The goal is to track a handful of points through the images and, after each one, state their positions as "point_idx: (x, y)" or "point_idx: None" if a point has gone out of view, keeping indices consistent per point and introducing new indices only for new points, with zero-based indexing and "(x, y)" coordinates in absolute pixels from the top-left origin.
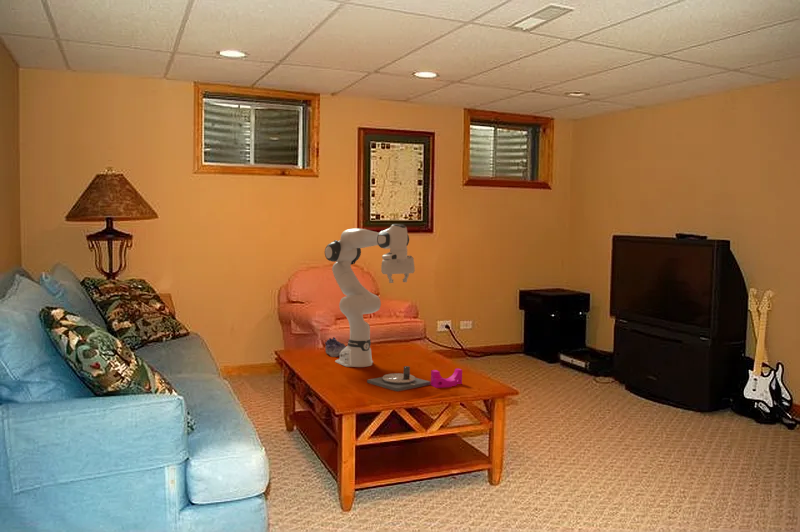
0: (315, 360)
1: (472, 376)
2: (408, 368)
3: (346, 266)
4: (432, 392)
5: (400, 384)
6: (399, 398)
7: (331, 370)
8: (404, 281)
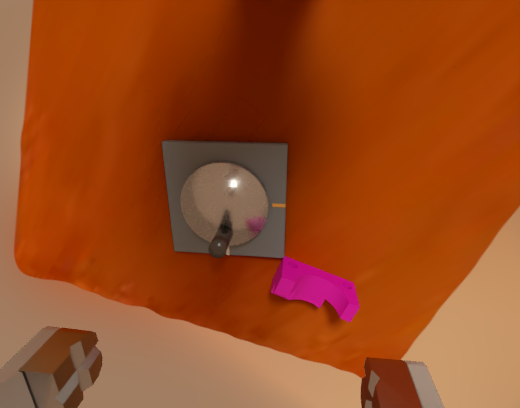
0: None
1: (447, 265)
2: (217, 256)
3: None
4: (236, 297)
5: None
6: (148, 285)
7: None
8: (363, 398)
